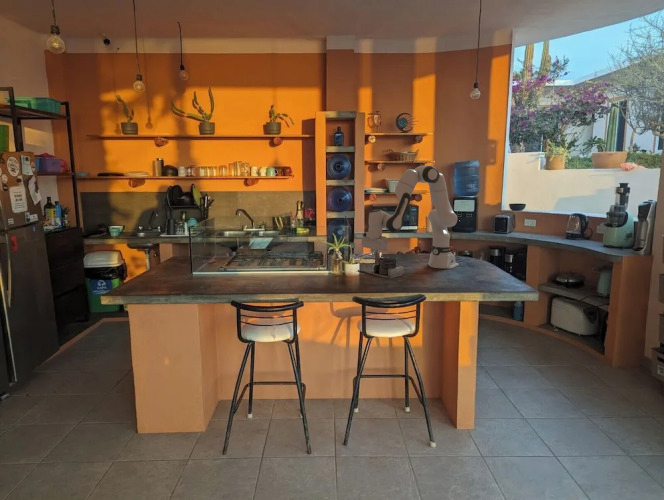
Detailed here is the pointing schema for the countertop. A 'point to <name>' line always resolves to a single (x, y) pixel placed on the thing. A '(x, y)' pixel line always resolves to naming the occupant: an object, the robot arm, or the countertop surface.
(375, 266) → the sliding jaw
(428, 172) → the robot arm
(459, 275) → the countertop surface
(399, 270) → the fixed jaw
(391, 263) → the small box
